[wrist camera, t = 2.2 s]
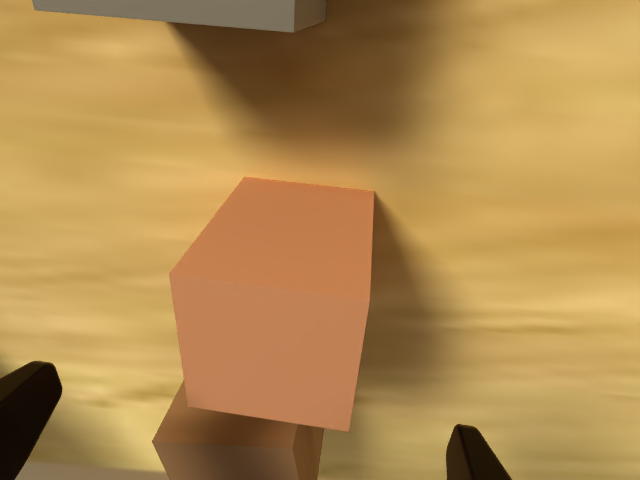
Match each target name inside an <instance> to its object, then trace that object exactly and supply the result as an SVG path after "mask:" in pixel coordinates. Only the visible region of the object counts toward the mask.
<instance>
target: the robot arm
mask: <svg viewBox="0 0 640 480" xmlns="http://www.w3.org/2000/svg"><path fill="white" fill-rule="evenodd" d="M61 394H62V385H61V382H60V379H59V376H58V373H57V370H56V368H55V366H54V365H53V364H52V363H49V362H43V361H33V362H30V363H28V364H26V365H24V366H23V367H21V368H19V369H17V370H15V371H13V372H11V373H10V374H8V375H6V376H4V377H2V378H0V480H15V478H16V477H17V475H18V474H19V472H20V470H21V469H22V467H23V466H24V464H25V462H26V461H27V459H28V457H29V455H30V454H31V452H32V450H33V448H34V446H35V444H36V442H37V441H38V439H39V437H40V435H41V433H42V431H43V429H44V427H45V426H46V424H47V422H48V420H49V418H50V416H51V414H52V412H53V411H54V409H55V407H56V405H57V403H58V401H59V399H60V397H61ZM446 467H447V480H512V479H511V478H510V476H509V475H508V473H507V472H506V470H505V469H504V467H503V466H502V464H501V463H500V461H499V460H498V458H497V457H496V455H495V454H494V452H493V451H492V449H491V448H490V446H489V445H488V444H487V442H486V441H485V439H484V438H483V436H482V435H481V433H480V432H479V430H478V429H477V428H475V427H474V426H468V425H462V424H457V425H456V426H455V427H454V429H453V432H452V435H451V438H450V440H449V443H448V446H447V451H446Z"/></svg>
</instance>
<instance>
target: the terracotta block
mask: <svg viewBox="0 0 640 480" xmlns="http://www.w3.org/2000/svg"><path fill="white" fill-rule="evenodd" d="M373 211H374V191H366V190H357V189H348V188H340V187H331V186H322V185H313V184H304V183H295V182H286V181H277V180H268V179H260V178H251V177H244V178H243V179H242V181H241V182H240V183H239V184H238V186H237V187H236V188H235V190H234V191H233V192H232V193H231V195H230V196H229V197H228V199H227V200H226V201H225V203H224V204H223V205H222V206H221V208H220V209H219V210H218V212H217V213H216V214H215V215H214V217H213V218H212V219H211V221H210V222H209V223H208V224H207V226H206V227H205V228H204V230H203V231H202V232H201V234H200V235H199V236H198V237H197V239H196V240H195V241H194V243H193V244H192V245H191V246H190V248H189V249H188V250H187V252H186V253H185V254H184V256H183V257H182V258H181V259H180V261H179V262H178V263H177V265H176V266H175V267H174V268H173V270H172V271H171V272H170V274H169V275H170V282H171V289H172V297H173V304H174V311H175V318H176V325H177V332H178V339H179V347H180V354H181V361H182V368H183V375H184V382H185V390H186V397H187V404H188V407H194V408H200V409H207V410H213V411H219V412H226V413H232V414H238V415H245V416H251V417H258V418H264V419H270V420H277V421H283V422H289V423H296V424H302V425H308V426H315V427H321V428H328V429H334V430H340V431H347V432H349V428H350V422H351V415H352V409H353V403H354V397H355V390H356V384H357V378H358V372H359V365H360V359H361V353H362V347H363V340H364V334H365V328H366V322H367V315H368V309H369V303H370V286H371V261H372V236H373Z"/></svg>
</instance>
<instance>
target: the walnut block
mask: <svg viewBox="0 0 640 480" xmlns="http://www.w3.org/2000/svg"><path fill="white" fill-rule="evenodd" d="M323 432H324V428H321V427H315V426H308V425H302V424H296V423H289V422H283V421H277V420H270V419H264V418H258V417H251V416H245V415H238V414H232V413H226V412H219V411H213V410H207V409H200V408H194V407H188V404H187V397H186V390H185V382H184V381H183V383H182V385H181V387H180V389H179V391H178V392H177V394H176V396H175V398H174V400H173V402H172V404H171V406H170V408H169V410H168V412H167V414H166V415H165V417H164V419H163V421H162V423H161V425H160V427H159V429H158V431H157V433H156V435H155V437H154V439H153V440H152V443H153V445H154V447H155V449H156V451H157V453H158V455H159V458H160V460H161V462H162V464H163V466H164V468H165V470H166V473H167V475H168V477H169V479H170V480H317V476H318V469H319V461H320V454H321V446H322V439H323Z"/></svg>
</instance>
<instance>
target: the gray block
mask: <svg viewBox="0 0 640 480" xmlns="http://www.w3.org/2000/svg"><path fill="white" fill-rule="evenodd" d="M32 1H33V5H34V10H38V11H50V12H61V13H73V14H85V15H96V16H108V17H119V18H131V19H142V20H154V21H165V22H177V23H189V24H200V25H212V26H223V27H235V28H246V29H258V30H270V31H281V32H293V33H294V32H297V31H299V30H302V29H305V28H307V27H310V26H313V25H316V24H318V23H321V22H324V21H326V7H327V0H32Z"/></svg>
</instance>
